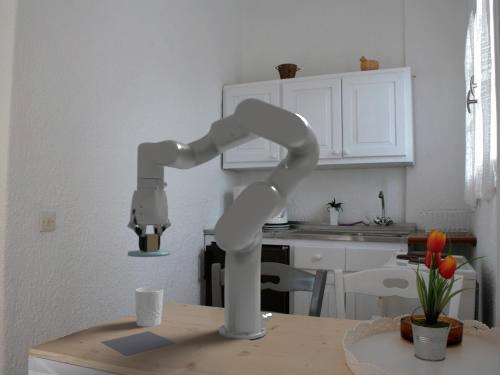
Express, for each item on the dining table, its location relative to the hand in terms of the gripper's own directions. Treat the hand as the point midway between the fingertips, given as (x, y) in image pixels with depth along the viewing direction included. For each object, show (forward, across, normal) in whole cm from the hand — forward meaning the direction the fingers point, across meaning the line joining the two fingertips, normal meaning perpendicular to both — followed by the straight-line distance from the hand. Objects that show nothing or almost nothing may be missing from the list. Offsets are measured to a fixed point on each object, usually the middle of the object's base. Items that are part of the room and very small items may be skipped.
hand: (149, 249), depth 119 cm
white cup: (+21, 0, 0) cm, 21 cm away
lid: (+1, 0, 0) cm, 1 cm away
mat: (+21, +10, +13) cm, 27 cm away
